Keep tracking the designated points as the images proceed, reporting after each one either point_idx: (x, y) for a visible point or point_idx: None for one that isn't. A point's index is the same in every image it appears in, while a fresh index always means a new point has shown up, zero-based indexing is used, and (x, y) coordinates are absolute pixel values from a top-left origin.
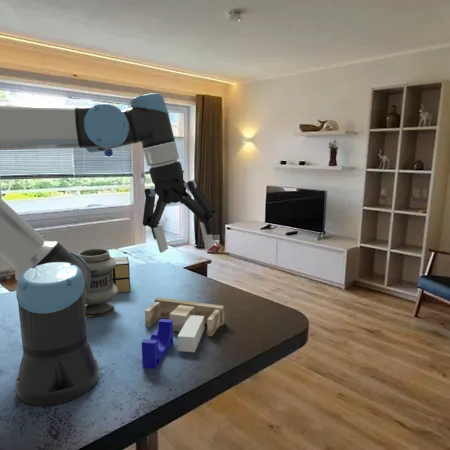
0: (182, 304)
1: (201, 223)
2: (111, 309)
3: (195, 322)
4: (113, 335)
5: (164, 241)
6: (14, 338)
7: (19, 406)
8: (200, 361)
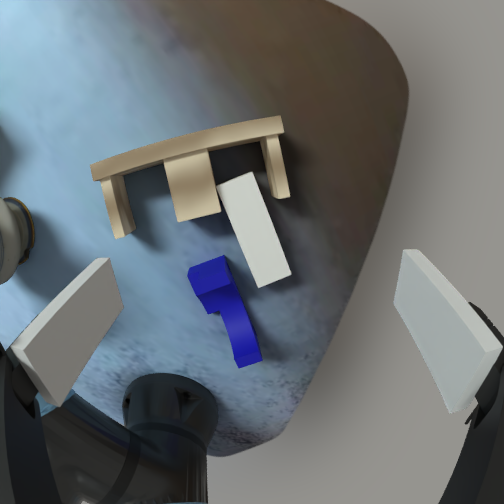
0: (170, 157)
1: (459, 408)
2: (27, 218)
3: (253, 214)
4: None
5: (90, 296)
6: None
7: None
8: (309, 283)
